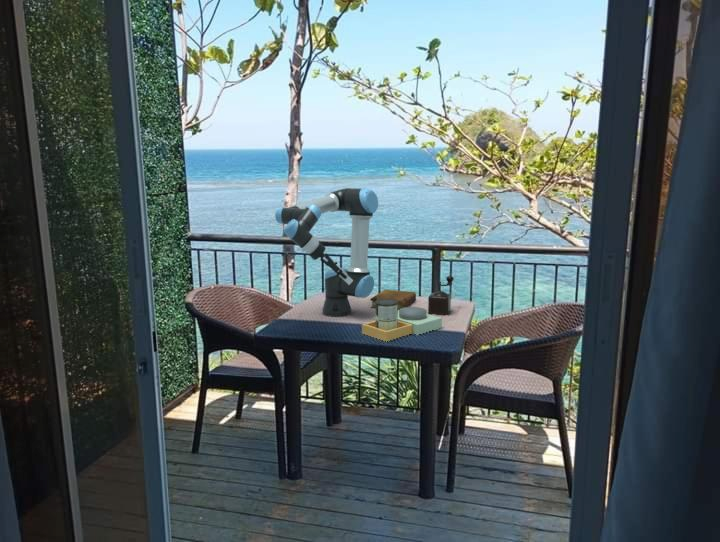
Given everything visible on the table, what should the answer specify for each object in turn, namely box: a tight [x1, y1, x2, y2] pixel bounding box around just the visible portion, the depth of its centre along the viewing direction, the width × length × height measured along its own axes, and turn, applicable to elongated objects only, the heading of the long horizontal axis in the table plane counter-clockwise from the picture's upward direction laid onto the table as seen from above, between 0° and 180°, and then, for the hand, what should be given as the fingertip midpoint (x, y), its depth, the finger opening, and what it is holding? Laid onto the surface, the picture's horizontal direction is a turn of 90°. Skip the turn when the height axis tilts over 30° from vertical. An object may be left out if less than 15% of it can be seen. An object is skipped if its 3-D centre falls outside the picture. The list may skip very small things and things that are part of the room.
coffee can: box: [375, 298, 399, 331], centre depth 262 cm, size 10×10×14 cm
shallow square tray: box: [361, 320, 413, 343], centre depth 264 cm, size 16×16×4 cm
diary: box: [370, 289, 417, 310], centre depth 316 cm, size 23×19×6 cm
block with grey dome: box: [398, 306, 443, 336], centre depth 274 cm, size 22×17×8 cm
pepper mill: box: [427, 275, 455, 316], centre depth 300 cm, size 16×11×18 cm
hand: (348, 279), depth 259 cm, fingers open, 13 cm apart
